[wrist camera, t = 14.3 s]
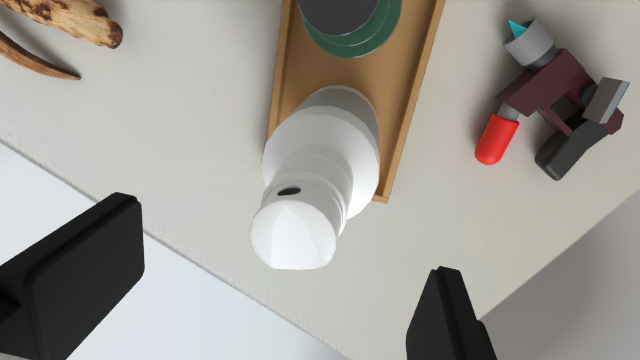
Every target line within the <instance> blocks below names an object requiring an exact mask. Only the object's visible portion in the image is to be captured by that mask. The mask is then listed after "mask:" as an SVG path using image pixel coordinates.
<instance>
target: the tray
mask: <svg viewBox="0 0 640 360" xmlns="http://www.w3.org/2000/svg"><path fill="white" fill-rule="evenodd" d="M445 1H446V0H402V10H401V15H400V18H399V21H398V24H397V26H396V28H395V30H394V32H393V33H392V35H391V36H390V38H389V39H388V40H387V41H386V42H385V43H384V44H383V45H382V46H381V47H380V48H379V49H377V50H376V51H374V52H373V53H371V54H368V55H366V56H363V57H360V58H354V59H345V58H339V57H335V56H333V55H330V54H328V53H326V52H325V51H323V50H322V49H321V48H319V47H318V46H317V45H316V44H315V43H314V42H313V40H312V39H311V38H310V36H309V34H308V33H307V31H306V29H305V26H304V23H303V20H302V15H301V11H300V8H299V5H298V2H297V0H283V8H282V16H281V25H280V34H279V42H278V51H277V59H276V68H275V76H274V85H273V93H272V102H271V110H270V119H269V127H268V136H267V141H268V139H269V138H270V137H271V135H272V134H273V132H274V131H275V129H276V128H277V127H278V126H279V125H280V124H281V123H282V122H283V121H284V120H285V119H286V118H287V117H288V116H289V115H290V114H291V113H292V112H293V111H294V110H295V109H296V108H297V107H298V106H299V105H300V104H302V103H303V102H304V101H305V100H306V99H307V98H308V97H309V96H310V95H311V94H313V93H314V92H316V91H317V90H318V89H321V88H324V87H327V86H330V85H345V86H348V87H351V88H353V89H356V90H358V91H359V92H361V93H362V94H363V95H364V96H366V97H367V98H368V99H369V101H370V102H371V104H372V105H373V107H374V108H375V111H376V115H377V119H378V130H379V155H380V171H379V183H378V186H377V188H376V190H375V193H374V195H373V197H372V199H371V200H372V201H377V202H381V203H386V204H387V203H388V199H389V196H390V192H391V189H392V185H393V182H394V178H395V175H396V171H397V168H398V164H399V161H400V157H401V154H402V150H403V147H404V143H405V140H406V136H407V133H408V129H409V126H410V122H411V119H412V116H413V112H414V109H415V105H416V102H417V98H418V95H419V91H420V88H421V84H422V81H423V77H424V74H425V70H426V67H427V63H428V60H429V56H430V53H431V49H432V46H433V42H434V39H435V35H436V32H437V28H438V25H439V21H440V18H441V14H442V11H443V7H444V4H445Z"/></svg>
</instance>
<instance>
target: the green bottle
mask: <svg viewBox="0 0 640 360" xmlns="http://www.w3.org/2000/svg"><path fill="white" fill-rule="evenodd" d="M297 2H298V5H299V8H300V11H301V15H302V20H303V23H304V26H305V29H306V31H307V33H308V34H309V36H310V38H311V39H312V40H313V42H314V43H315V44H316V45H317V46H318V47H319V48H321V49H322V50H323V51H325V52H326V53H328V54H330V55H333V56H335V57H339V58H345V59H354V58H360V57H363V56H366V55H368V54H371V53H373V52H374V51H376V50H377V49H379V48H380V47H381V46H382V45H383V44H384V43H385V42H386V41H387V40H388V39H389V38H390V36H391V35H392V33H393V32H394V30H395V28H396V26H397V24H398V21H399V18H400V15H401V10H402V0H297Z"/></svg>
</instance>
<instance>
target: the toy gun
mask: <svg viewBox="0 0 640 360" xmlns="http://www.w3.org/2000/svg"><path fill="white" fill-rule="evenodd" d="M509 23H510V26H511V29H512V32H511V33H510V34H509V35H508V36H507V37H506V39H505V40H504V41H503V43H502V45H503V46H504V48H505V49H506V50H507V51H508V52H509V53H510V54H511V55H512V56H513V57H514V58H515V59H516V61H517V62H518V63H519V64H520V65H521V66H526V67H527V68H528V69H527V70H526V71H525V72H524V73H523V74H522V75H520V76H519V77H518V78H517V79H516V80H515V81H514V82H512V83H511V84H510V85H509V86H508V87H507V88H506V89H505V90H503V91H502V92H501V93H500V94H499V95H498V96H497V97H495V98H496V99H498V100H499V101H501V102H503V103H502V105H501V107H500V109H499V111H498V113H497V114H496V113H494V114H492V115H491V117H490V120H489V122H488V124H487V126H486V128H485V130H484V132H483V134H482V136H481V138H480V140H479V142H478V144H477V146H476V148H475V157H476V159H477V160H478V161H479V162H481V163H483V164H486V165H492V164H495V163H497V162H498V161H499V160H500V159H501V158H502V156H503V154H504V152H505V150H506V148H507V146H508V145H509V143H510V141H511V139H512V137H513V135H514V133H515V131H516V129H517V128H518V126H519V122H518V121H516V120H517V118H518V116H519V114H520V113H521V114H523V115H525V116H527V117H529V116H530V115H531V114H532V113H534V112H535V111H536V110H537V111H538V112H539V113H540V114H541V115H542V116H543V117H544V118H545V119H546V121H547V122H548V123H549V124H550V125H551V126H552V127H553V128H554V129H555V130H556V132H555V133H554V134H553V136H552V137H551V138H550V139H549V140H548V142H547V143H546V144H545V145H544V146H543V148H542V149H541V150H540V151H539V152H538V154H537V155H536V156H535V163H536V164H537V165H538V166H539V167H540V168H541V169H542V170H543V171H544V172H545V173H546V174H547V175H548V176H550V177H551V178H552V179H553V180H556V181H558V180H560V179H561V178H562V177H563V176H564V175H565V174H566V173H567V172H568V171H569V170H570V168H571V167H572V166H573V165H574V164H575V163H576V162H577V161H578V159H579V158H580V157H581V156H582V155H583V154H584V153H585V151H586V150H587V149H589V148H590V147H591V146H593V145H594V144H596V143H597V142H598V141H600V140H601V139H602V138H604V137H605V136H607V135H608V134H610V135H612V134H614V133H615V132H616V131H618V130H619V129H620V128H621V125H622V121H623V117H624V114H623V113H622V112H621V111H620V110H619V109H618V108H617V105H618V103H619V102H620V100H621V98H622V96H623V95H624V93H625V91H626V89H627V88H628V86H629V84H630V82H626V81H622V80H617V79H611V78H606V77H603V78H602V80H601V82H600V83H599V85H597V84H596V83H595V82H594V81H593V79H592V78H591V77H590V76H589V75H588V74H587V73H586V72H585V69H584V68H583V67H582V66H581V65H580V64H579V63H578V61H577V60H576V59H575V58H574V57H573V56H572V55H571V54H570V52H569V51H568V50H567V49H563V48H557V47H556V46H555V45H554V41H555V40H554V38H553V37H552V36H551V35H550V34H549V33H548V32H547V31H546V29H545V28H544V27H543V26H542V25H541V24H540V23H539V22H538V20H537V19H536V18H535V17H533V18H530V19H528V20H526V21H525V22H523V23H522V24H521V25H518V24H516V23H514V22H512V21H510V20H509ZM564 94H565V96H566V97H567V98H568V99H569V100H570V101H571V102H572V103H573V104H574V105H575V107H576V108H577V109H578V111H577V112H575V113H574V114H573V115H571V116H570V117H569V118H568V119H566V120H565V121H564V122H563V121H562V120H561V119H560V117H559V116H558V115H557V114H556V113H555V112H554V111H553V110H552V109H551V108H550V106H551V105H552V104H553V103H555V102H556V101H557V100H558V99H559V98H561V97H562V96H563V95H564Z"/></svg>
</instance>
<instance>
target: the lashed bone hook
mask: <svg viewBox="0 0 640 360" xmlns="http://www.w3.org/2000/svg"><path fill="white" fill-rule="evenodd" d="M0 4H1V5H2V6H5V7H6V8H8V9H10V10H12V11H15V12H17V13H20V14H23V15H26V16H28V17H30V18H32V19H33V20H34V21H36V22H38V23H42V24H45V25H48V26H50V27H53V28H56V29H59V30H61V31H64V32H66V33H68V34H70V35H72V36H73V37H76V38H79V39H82V40H85V41H89V42H91V43H94V44H96V45H98V46H106V47H108V48H112V49H115V48H117V47H118V46H119V45H120V44H121V42H122V38H123V31H122V28H121V27H120V25H119V24H118V23H117V22H116V21H114V20H111V19H109V18H108V14H107V12H106V11H105V9H104V7H102V6H100V5H98V4H96V3H95V2H93V1H92V0H0ZM0 54H1V55H2V56H4V57H6V58H7V59H9V60H11V61H13V62H15V63H17V64H18V65H20V66H22V67H25V68H27V69H30V70H32V71H35V72H38V73H41V74H44V75H47V76H51V77H56V78H62V79H69V80H80V79H81V77H80V76H78V75H77V74H75V73H73V72H70V71H68V70H66V69H64V68H61V67H59V66H57V65H55V64H52V63H50V62H48V61H45V60H43V59H41V58H39V57H37V56H35V55H33V54H31V53H30V52H28V51H26V50H25V49H24V48H22V47H21V46H20V45H18V44H17V43H15V42H14V41H13V40H11V39H10V38H9V37H7V36H6V35H5V34H4V33H3V32H1V31H0Z"/></svg>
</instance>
